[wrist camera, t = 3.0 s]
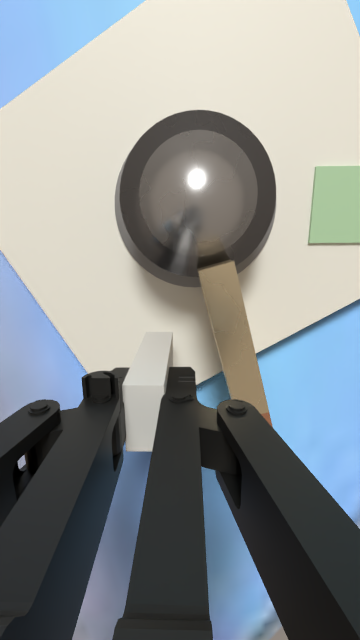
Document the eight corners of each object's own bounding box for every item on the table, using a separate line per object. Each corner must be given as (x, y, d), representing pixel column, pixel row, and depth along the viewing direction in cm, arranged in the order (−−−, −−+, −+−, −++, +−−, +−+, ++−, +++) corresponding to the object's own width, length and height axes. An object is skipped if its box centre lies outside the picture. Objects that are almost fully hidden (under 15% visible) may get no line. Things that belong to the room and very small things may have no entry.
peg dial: (114, 157, 16) (89, 128, 12) (243, 117, 16) (265, 71, 12) (190, 411, 20) (191, 457, 16) (297, 385, 19) (329, 425, 15)
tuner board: (126, 413, 22) (122, 425, 21) (-50, 162, 18) (-68, 156, 17) (440, 247, 19) (459, 247, 18) (308, -100, 15) (320, -134, 14)
